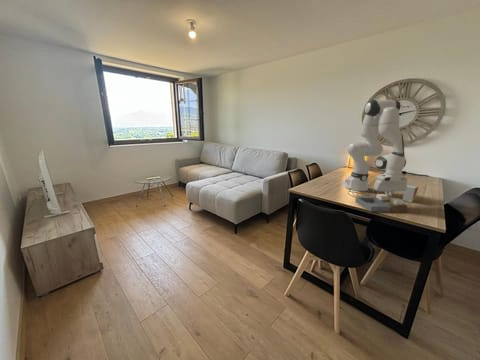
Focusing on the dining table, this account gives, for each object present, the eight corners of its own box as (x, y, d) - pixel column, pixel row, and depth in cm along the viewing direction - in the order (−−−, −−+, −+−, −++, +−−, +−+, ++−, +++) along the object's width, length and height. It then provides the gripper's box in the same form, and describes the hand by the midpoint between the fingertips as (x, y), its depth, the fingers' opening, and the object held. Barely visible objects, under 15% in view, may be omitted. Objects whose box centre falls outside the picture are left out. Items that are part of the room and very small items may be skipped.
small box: (411, 202, 139) (415, 188, 136) (401, 200, 143) (405, 186, 140) (415, 200, 143) (418, 186, 141) (405, 197, 148) (408, 184, 145)
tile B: (389, 201, 128) (390, 198, 128) (397, 201, 129) (397, 198, 128) (395, 204, 124) (396, 201, 123) (403, 204, 124) (404, 201, 123)
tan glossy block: (373, 202, 139) (374, 196, 137) (387, 202, 139) (388, 196, 138) (390, 211, 123) (392, 205, 122) (406, 211, 123) (407, 205, 122)
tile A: (375, 197, 136) (376, 194, 135) (382, 197, 136) (383, 194, 135) (381, 200, 131) (382, 196, 130) (388, 200, 131) (389, 196, 131)
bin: (355, 201, 138) (356, 197, 137) (372, 202, 138) (373, 197, 138) (370, 211, 123) (371, 206, 122) (389, 211, 123) (391, 206, 122)
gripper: (403, 176, 133) (399, 195, 137) (374, 176, 132) (370, 195, 136) (411, 178, 127) (406, 198, 131) (381, 178, 126) (376, 198, 130)
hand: (387, 196), depth 133 cm, fingers closed
